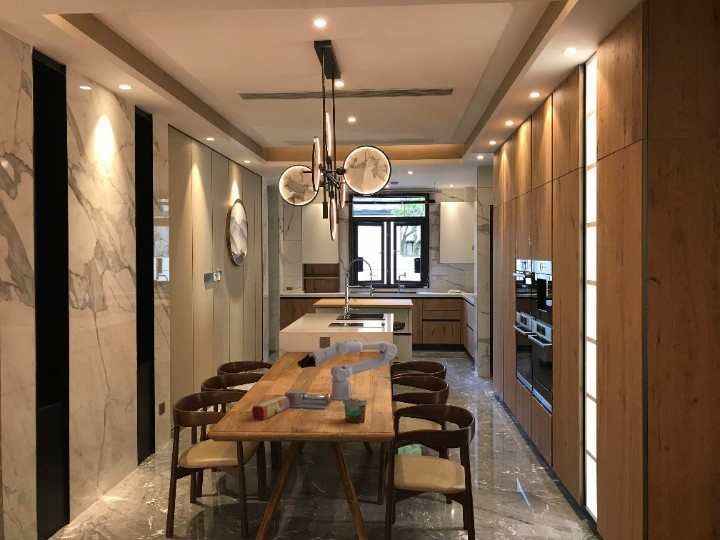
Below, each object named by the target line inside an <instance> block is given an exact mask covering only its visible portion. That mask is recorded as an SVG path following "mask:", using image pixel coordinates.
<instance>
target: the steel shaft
mask: <svg viewBox="0 0 720 540" xmlns="http://www.w3.org/2000/svg"><path fill="white" fill-rule="evenodd" d="M331 397H332V393H326V395H316V394H306V395H303V399H304V400H324V401H326V403H330V404H332V402H331V400H332V399H331Z"/></svg>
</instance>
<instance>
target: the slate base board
mask: <svg viewBox="0 0 720 540" xmlns="http://www.w3.org/2000/svg"><path fill="white" fill-rule="evenodd" d="M332 401H333V400H332V399H331V403H332ZM331 403H326V401H324V400H306V401H305V402H304V403H303V404H302V405H289V409H299V408H303V409H304V410H305V409H306V410H318V409H321V410H322V411H323V410H326V409H327V408H328V407H329V405H331ZM327 406H328V407H327ZM326 407H327V408H326ZM303 409H302V410H303ZM321 410H320V411H321Z"/></svg>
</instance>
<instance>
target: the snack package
mask: <svg viewBox="0 0 720 540" xmlns="http://www.w3.org/2000/svg"><path fill="white" fill-rule="evenodd" d="M251 409H252V410H251V414H252V418H253V419H254V420H256V421H265V420H266V419H268V418H271V417H273V416H275V415H277V414H279V413H282V412H284V411H287V409H288V410H289V409H290V408H289V398H288V397H286V396H285V395H280V396H276V397H274V398H271V399H268V400H265V401H263V402H261V403H258V404H255V405H253V406H252V408H251Z"/></svg>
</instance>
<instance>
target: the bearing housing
mask: <svg viewBox="0 0 720 540" xmlns="http://www.w3.org/2000/svg"><path fill="white" fill-rule="evenodd" d="M303 395H307V389H306V388H305V389H304V388H289V389H288V390H286V391H285V392H284V396H286V397H288V398H289V405H302V404H303V403H304V402H305V401H306V400H304V399H303Z"/></svg>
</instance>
